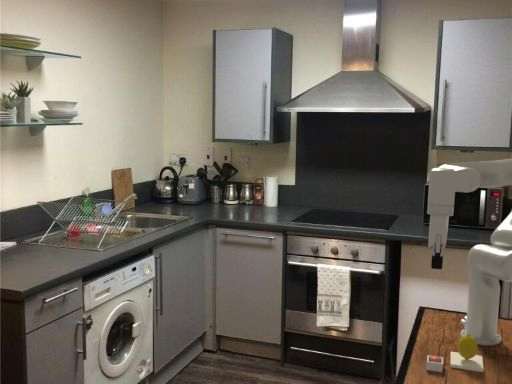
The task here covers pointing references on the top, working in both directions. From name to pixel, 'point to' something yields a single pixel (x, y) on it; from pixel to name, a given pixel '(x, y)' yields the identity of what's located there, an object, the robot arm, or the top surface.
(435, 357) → the button
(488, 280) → the robot arm
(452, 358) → the paper pad
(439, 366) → the button base
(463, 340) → the lemon
